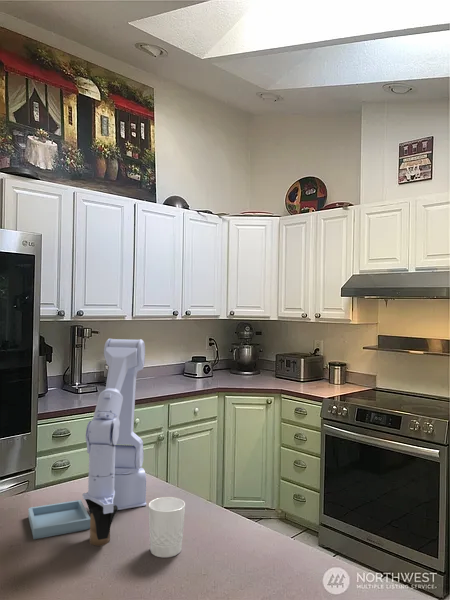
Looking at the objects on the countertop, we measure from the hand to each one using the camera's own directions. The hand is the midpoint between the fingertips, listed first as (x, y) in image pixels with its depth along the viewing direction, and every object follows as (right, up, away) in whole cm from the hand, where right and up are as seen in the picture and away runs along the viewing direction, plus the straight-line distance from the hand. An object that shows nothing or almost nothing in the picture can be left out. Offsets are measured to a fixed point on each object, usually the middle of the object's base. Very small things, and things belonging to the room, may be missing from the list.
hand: (100, 533), depth 109 cm
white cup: (+15, -2, -3) cm, 16 cm away
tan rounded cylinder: (0, -2, 0) cm, 2 cm away
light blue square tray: (-12, -2, +8) cm, 15 cm away
